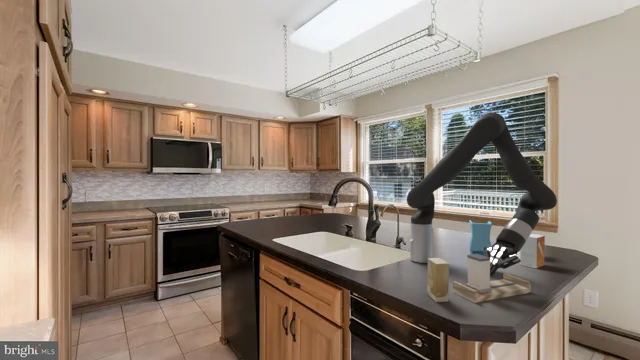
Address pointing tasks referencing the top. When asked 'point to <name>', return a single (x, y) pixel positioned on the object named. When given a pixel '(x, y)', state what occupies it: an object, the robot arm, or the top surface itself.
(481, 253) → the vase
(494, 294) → the fader track
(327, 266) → the top surface
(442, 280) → the skincare box
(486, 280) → the fader knob
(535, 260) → the small box
